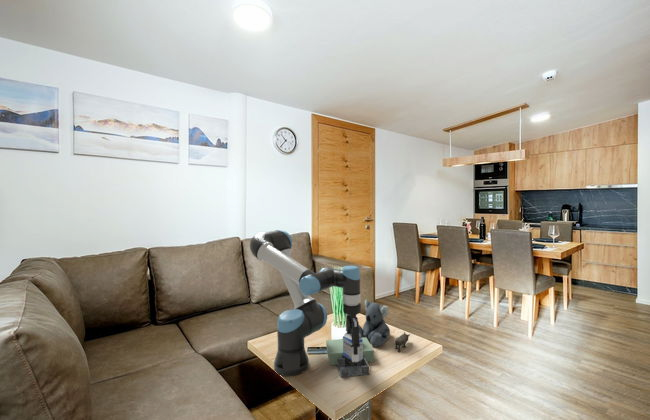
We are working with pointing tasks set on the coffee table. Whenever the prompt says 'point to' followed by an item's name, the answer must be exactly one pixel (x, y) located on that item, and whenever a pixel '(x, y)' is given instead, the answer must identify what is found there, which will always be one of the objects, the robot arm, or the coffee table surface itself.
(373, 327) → the koala plush
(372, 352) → the sage green box
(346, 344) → the medicine box
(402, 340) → the rhino figurine
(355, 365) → the chute bracket
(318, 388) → the coffee table surface
